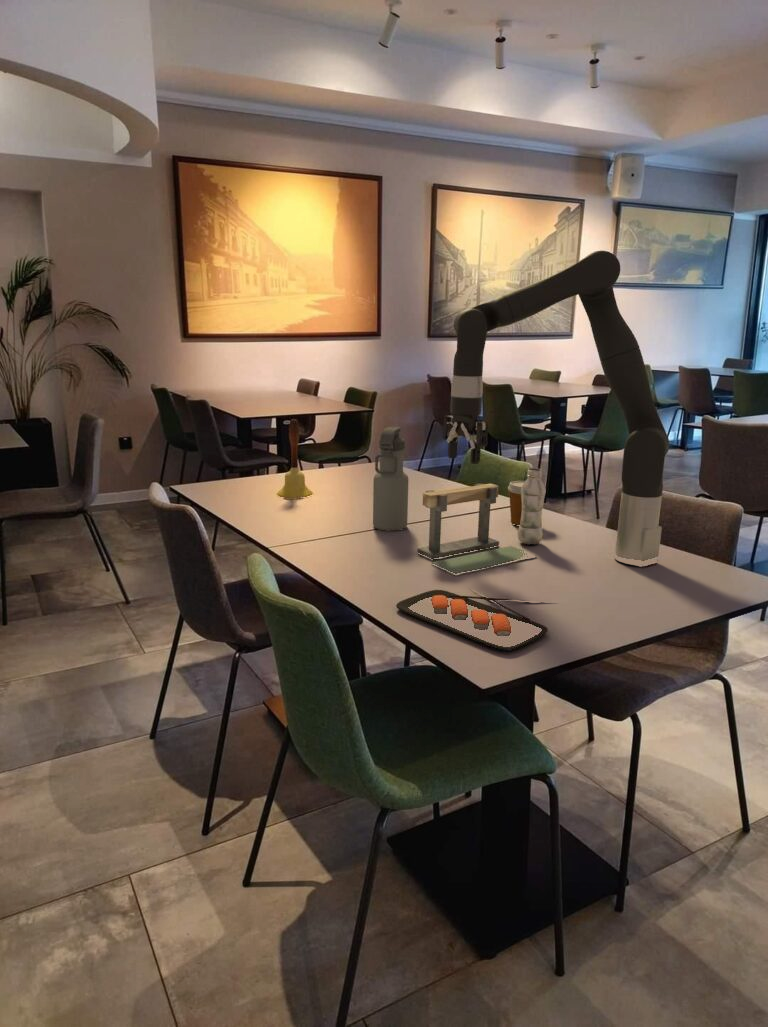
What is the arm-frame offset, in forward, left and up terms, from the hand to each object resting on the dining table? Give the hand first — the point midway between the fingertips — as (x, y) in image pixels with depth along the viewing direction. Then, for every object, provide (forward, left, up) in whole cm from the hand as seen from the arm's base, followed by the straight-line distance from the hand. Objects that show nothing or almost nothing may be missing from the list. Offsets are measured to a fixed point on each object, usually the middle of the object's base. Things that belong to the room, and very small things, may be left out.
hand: (463, 460), depth 178 cm
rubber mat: (-10, 0, -23) cm, 25 cm away
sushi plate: (-35, +20, -24) cm, 47 cm away
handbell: (+76, +8, -24) cm, 80 cm away
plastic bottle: (-5, -20, -24) cm, 31 cm away
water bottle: (+27, +3, -24) cm, 36 cm away
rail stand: (0, 0, -23) cm, 23 cm away
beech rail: (0, 0, -10) cm, 10 cm away
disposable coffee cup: (+10, -32, -24) cm, 41 cm away
